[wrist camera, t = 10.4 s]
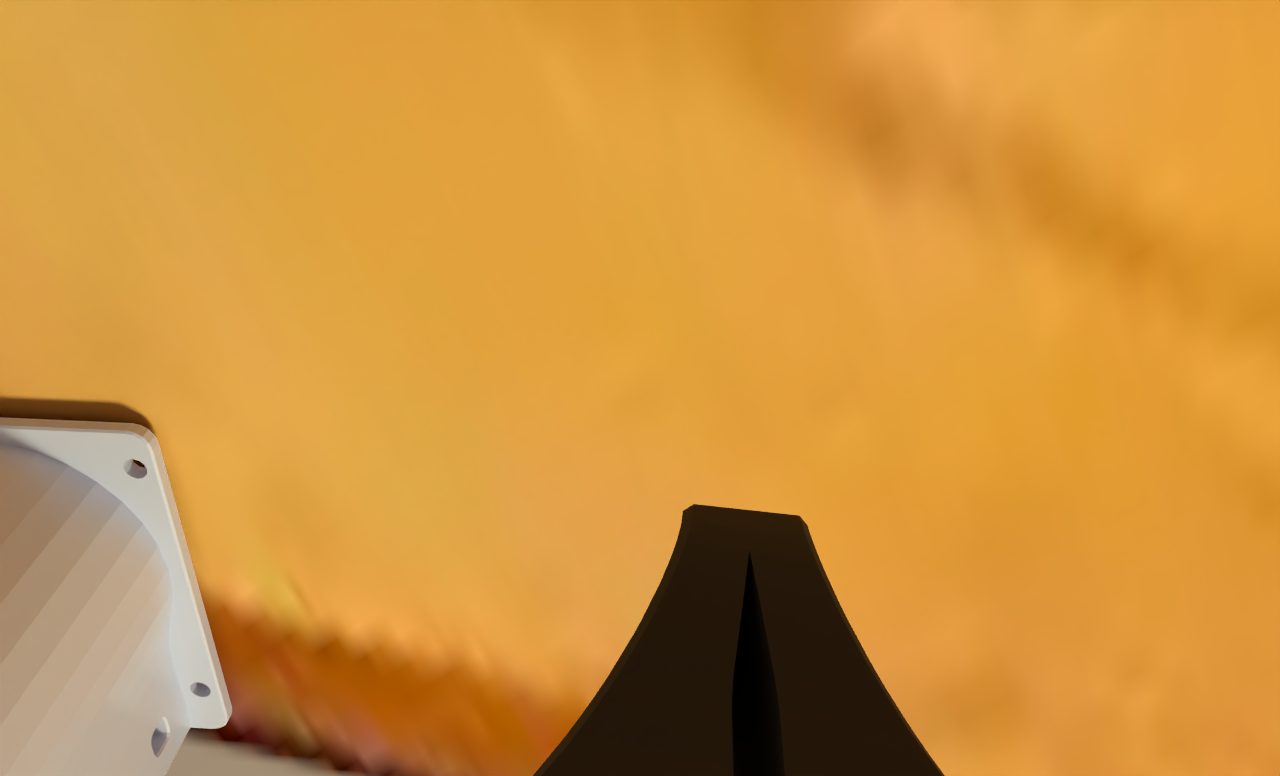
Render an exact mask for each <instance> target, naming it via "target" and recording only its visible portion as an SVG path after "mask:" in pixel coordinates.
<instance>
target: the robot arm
mask: <svg viewBox="0 0 1280 776" xmlns="http://www.w3.org/2000/svg"><path fill="white" fill-rule="evenodd" d="M133 459H134V460H138V461H140V462H141V463H143V464H144V465H145V467H146V468H143V467H140V466H138V465H137V464H136V463H134V461H133ZM202 683H203V684H202ZM231 714H232V705H231V702H230V698H229V695H228V691H227V687H226V684H225V680H224V677H223V673H222V669H221V666H220V662H219V659H218V655H217V651H216V648H215V644H214V640H213V637H212V633H211V630H210V626H209V622H208V619H207V615H206V612H205V608H204V604H203V601H202V597H201V593H200V590H199V586H198V583H197V579H196V575H195V572H194V568H193V565H192V561H191V557H190V554H189V550H188V546H187V543H186V539H185V536H184V532H183V528H182V525H181V521H180V518H179V514H178V510H177V507H176V503H175V499H174V496H173V492H172V489H171V485H170V481H169V478H168V474H167V471H166V467H165V463H164V460H163V456H162V453H161V449H160V445H159V442H158V440H157V438H156V436H155V435H154V434H153V433H152V432H151V431H150V430H149V429H147V428H146V427H144V426H142V425H139V424H134V423H119V422H96V421H73V420H50V419H27V418H4V417H0V776H165V775H166V773H167V771H168V769H169V767H170V765H171V763H172V761H173V759H174V757H175V756H176V754H177V752H178V750H179V748H180V746H181V744H182V742H183V740H184V738H185V736H186V735H187V733H188V731H189V729H190V727H194V728H210V729H213V728H220V727H223V726H225V725H226V723H227V722H228V720H229V718H230V716H231ZM533 776H944V774H943V773H942V771H941V770H940V769H939V767H938V766H937V765H936V763H935V762H934V761H933V759H932V758H931V757H930V755H929V754H928V752H927V751H926V750H925V748H924V747H923V745H922V744H921V742H920V741H919V739H918V738H917V736H916V735H915V734H914V732H913V731H912V729H911V727H910V726H909V724H908V723H907V721H906V720H905V718H904V717H903V715H902V714H901V712H900V711H899V709H898V707H897V706H896V704H895V702H894V701H893V699H892V698H891V696H890V694H889V693H888V691H887V690H886V688H885V686H884V685H883V683H882V681H881V680H880V678H879V676H878V674H877V673H876V671H875V669H874V668H873V666H872V664H871V662H870V661H869V659H868V657H867V655H866V653H865V651H864V650H863V648H862V646H861V644H860V642H859V640H858V638H857V636H856V635H855V633H854V631H853V629H852V627H851V625H850V623H849V621H848V620H847V618H846V616H845V614H844V612H843V610H842V608H841V606H840V603H839V601H838V599H837V597H836V595H835V593H834V591H833V588H832V586H831V584H830V582H829V580H828V578H827V575H826V573H825V571H824V568H823V566H822V564H821V561H820V559H819V556H818V554H817V552H816V549H815V546H814V544H813V541H812V538H811V535H810V533H809V529H808V526H807V524H806V523H805V522H804V521H803V520H802V518H801V517H800V516H797V515H788V514H778V513H769V512H760V511H751V510H742V509H733V508H724V507H714V506H705V505H696V504H694V505H692V506H690V507H689V508H687V509H686V510H684V511H683V516H682V523H681V528H680V532H679V535H678V539H677V542H676V545H675V548H674V551H673V554H672V556H671V559H670V561H669V564H668V566H667V568H666V571H665V573H664V576H663V578H662V580H661V583H660V585H659V587H658V589H657V591H656V593H655V595H654V596H653V598H652V600H651V602H650V604H649V606H648V608H647V610H646V612H645V614H644V616H643V618H642V620H641V622H640V624H639V626H638V628H637V630H636V631H635V633H634V635H633V636H632V638H631V640H630V641H629V643H628V645H627V646H626V648H625V650H624V651H623V653H622V655H621V656H620V658H619V660H618V661H617V663H616V664H615V666H614V668H613V669H612V671H611V673H610V674H609V676H608V677H607V679H606V680H605V682H604V683H603V685H602V686H601V688H600V689H599V691H598V692H597V694H596V695H595V697H594V698H593V700H592V701H591V702H590V704H589V705H588V707H587V708H586V710H585V711H584V712H583V714H582V715H581V716H580V718H579V719H578V720H577V722H576V723H575V724H574V726H573V727H572V728H571V730H570V731H569V732H568V734H567V735H566V736H565V738H564V739H563V740H562V741H561V743H560V744H559V745H558V746H557V747H556V749H555V750H554V751H553V752H552V753H551V755H550V756H549V757H548V758H547V760H546V761H545V762H544V763H543V764H542V766H541V767H540V768H539V769H538V770H537V772H536V773H535V774H534V775H533Z"/></svg>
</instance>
